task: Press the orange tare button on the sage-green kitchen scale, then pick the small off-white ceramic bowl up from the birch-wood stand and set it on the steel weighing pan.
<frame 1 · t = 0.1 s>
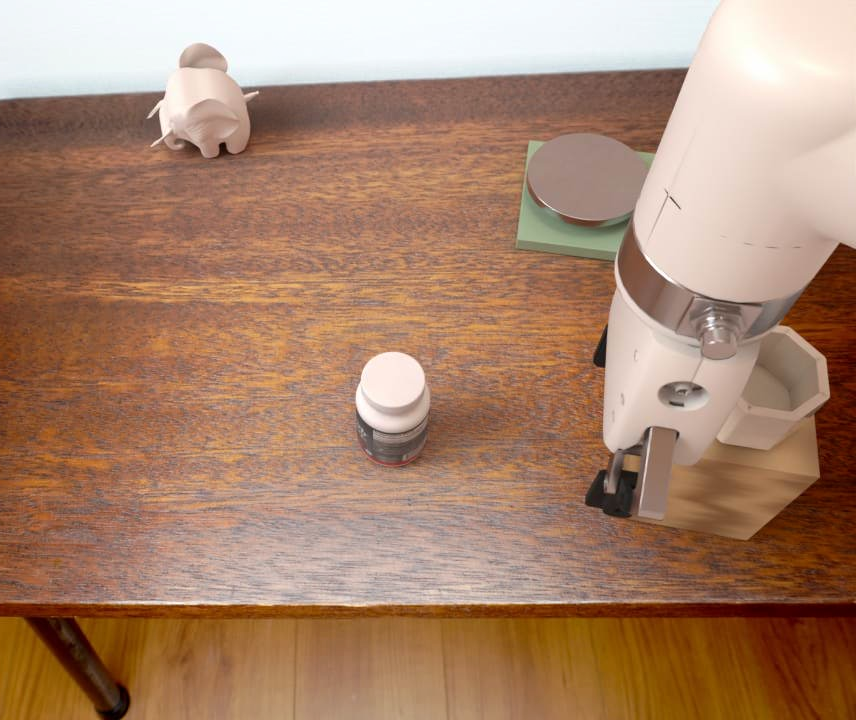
hand: (615, 432, 50), 15 cm above the table, tool pointing down, fingers open, 9 cm apart
scale pan: (579, 204, 79), resting on scale
tare button: (677, 188, 75), point 4 cm above the table, slide at 0.1 cm
bowl: (741, 403, 54), point 12 cm above the table, touching stand
scale: (605, 207, 79), on the table
stand: (683, 475, 64), on the table
elephant figurine: (209, 141, 87), on the table
pill bottle: (391, 438, 68), on the table
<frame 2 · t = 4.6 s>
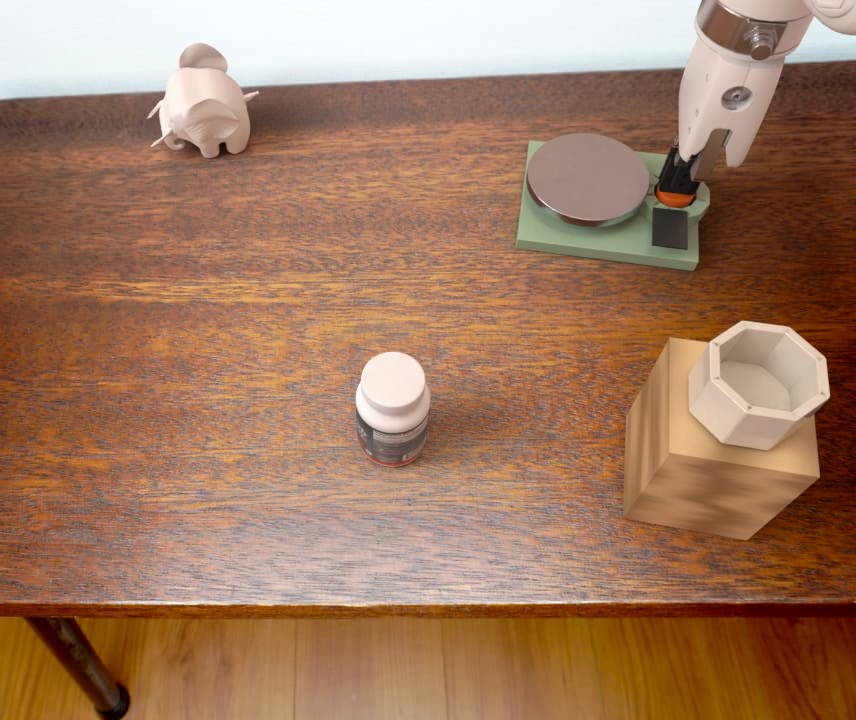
hand: (676, 187, 75), 4 cm above the table, tool pointing down, fingers closed
tare button: (674, 194, 76), point 3 cm above the table, slide at -0.7 cm, touching gripper
everything else where it was.
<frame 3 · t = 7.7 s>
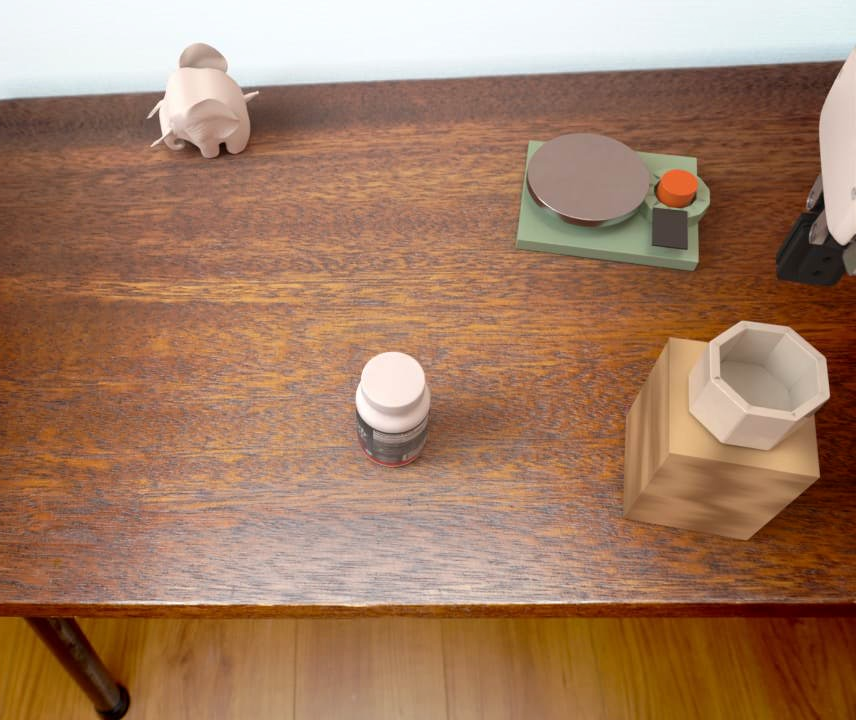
hand: (803, 272, 48), 22 cm above the table, tool pointing down, fingers closed
tare button: (676, 188, 75), point 3 cm above the table, slide at 0.1 cm
everything else where it was.
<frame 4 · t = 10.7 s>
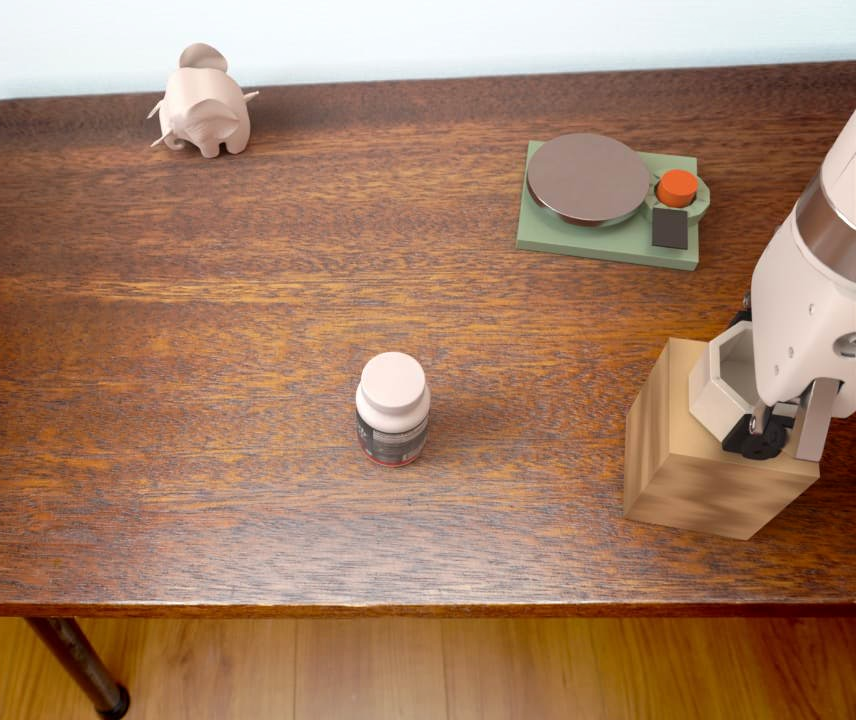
hand: (745, 397, 53), 13 cm above the table, tool pointing down, fingers closed on bowl, 6 cm apart
bowl: (741, 403, 54), point 12 cm above the table, touching gripper, stand
everything else where it was.
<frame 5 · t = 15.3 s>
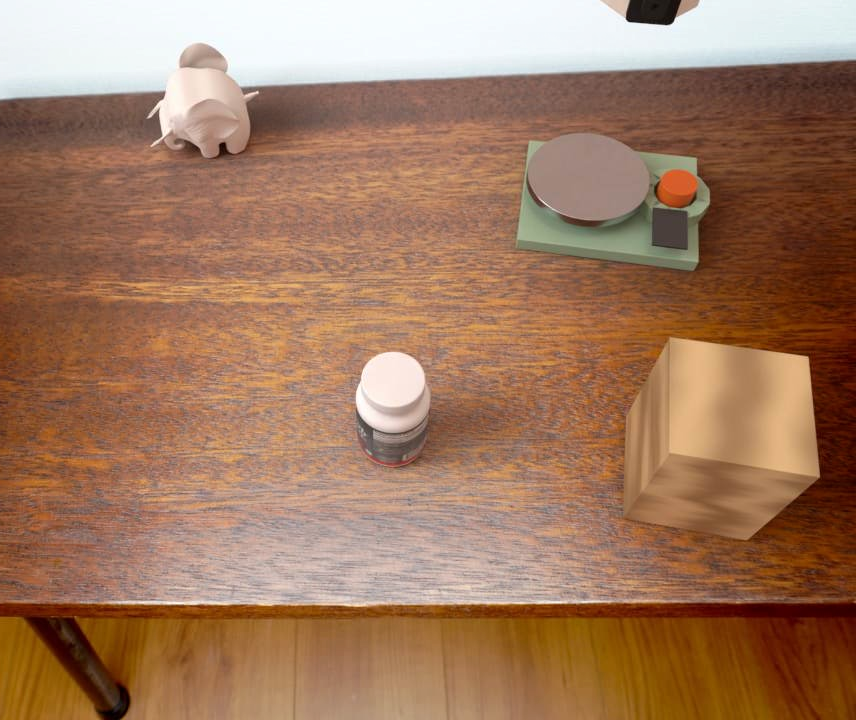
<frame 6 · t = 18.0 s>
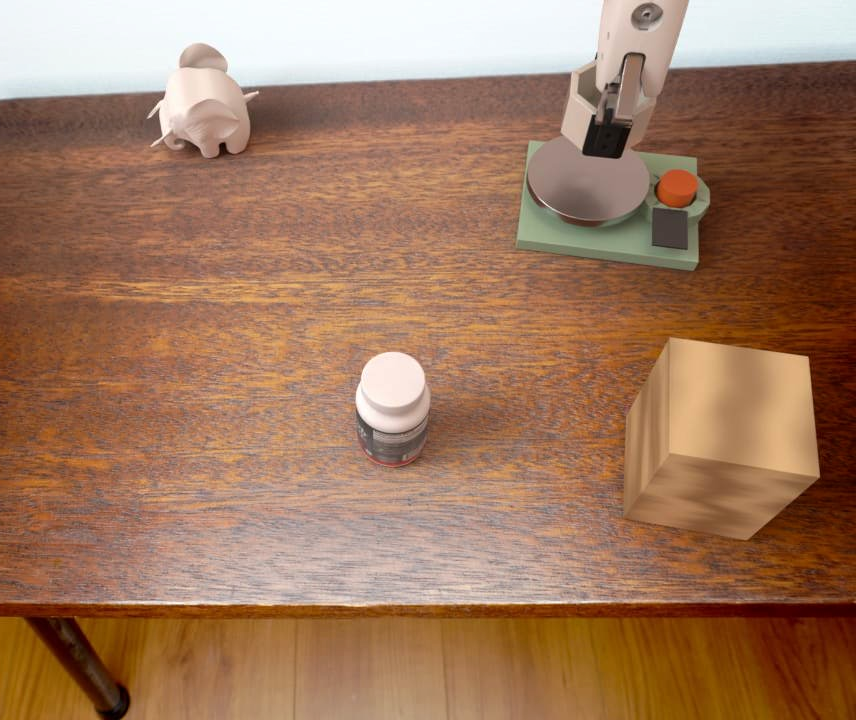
hand: (603, 121, 70), 10 cm above the table, tool pointing down, fingers closed on bowl, 6 cm apart
bowl: (600, 128, 71), point 10 cm above the table, touching gripper
everything else where it was.
when the fingers open (5 cm above the table, at t = 19.9 s): bowl stays where it is, resting on scale pan.
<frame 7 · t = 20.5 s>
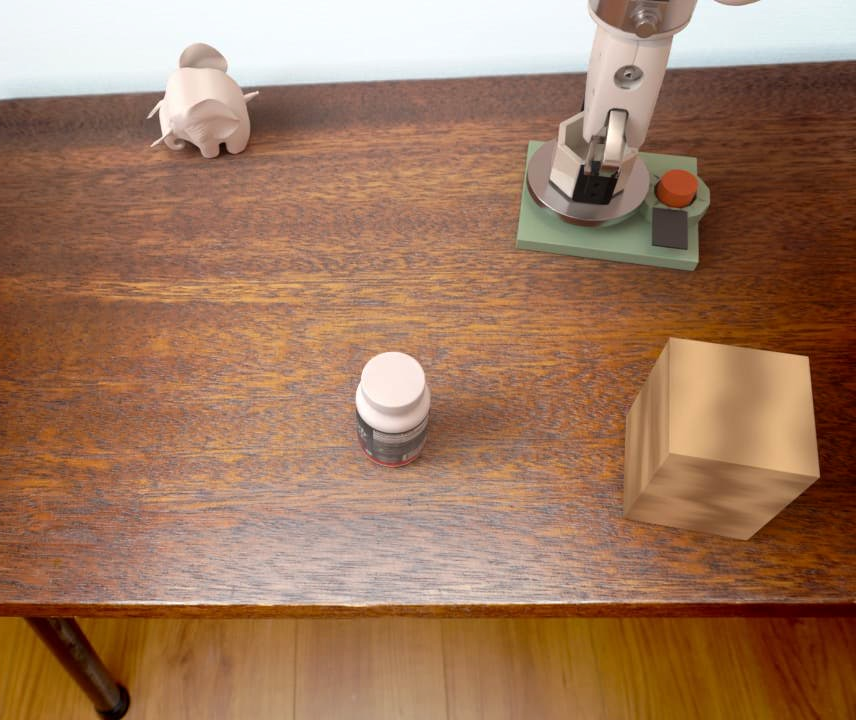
hand: (593, 161, 74), 6 cm above the table, tool pointing down, fingers open, 9 cm apart
bowl: (587, 174, 76), point 4 cm above the table, touching scale pan
everything else where it was.
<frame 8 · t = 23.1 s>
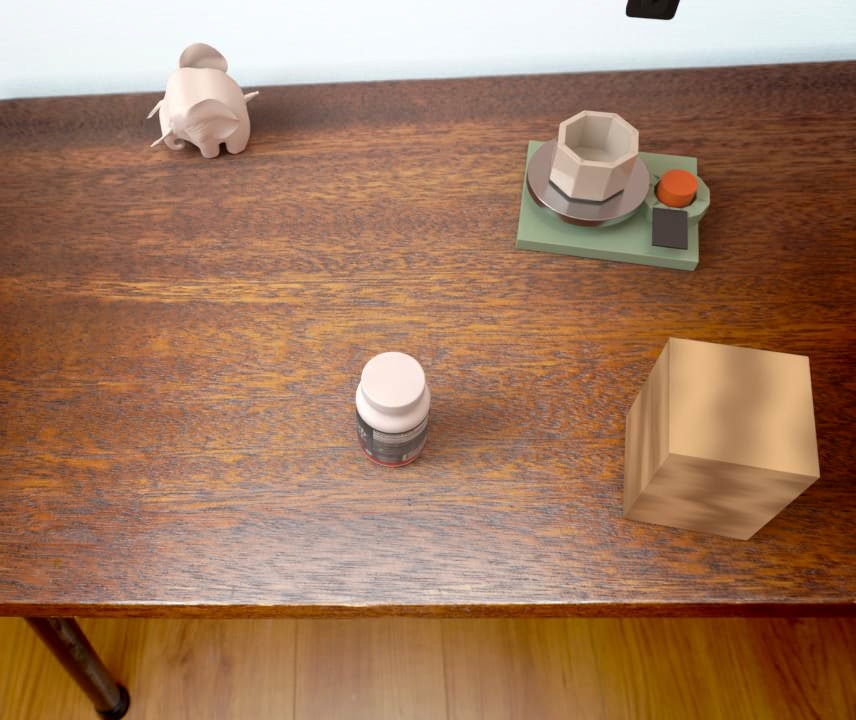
nothing on the table moved.
at the end: tare button pushed in 0.9 cm at the most during the clip, back to where it started at the end; bowl inside the target area on the scale pan (0.1 cm from its centre), point 4.0 cm above the scale pan's base; bowl tilted 0° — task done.
